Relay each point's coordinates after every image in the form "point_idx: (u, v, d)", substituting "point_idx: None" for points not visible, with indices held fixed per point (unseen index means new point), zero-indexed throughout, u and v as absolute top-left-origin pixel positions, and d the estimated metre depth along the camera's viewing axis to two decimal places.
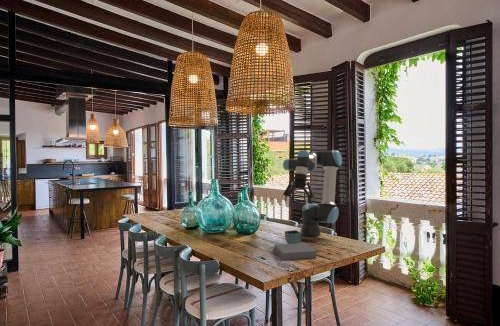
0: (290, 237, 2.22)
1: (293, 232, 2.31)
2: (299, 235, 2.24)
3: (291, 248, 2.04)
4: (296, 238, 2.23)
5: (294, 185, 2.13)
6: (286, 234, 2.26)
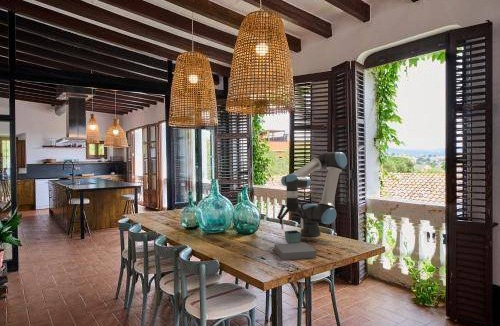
0: (290, 237, 2.22)
1: (293, 232, 2.31)
2: (299, 235, 2.24)
3: (291, 248, 2.04)
4: (296, 238, 2.23)
5: (289, 209, 2.24)
6: (286, 234, 2.26)
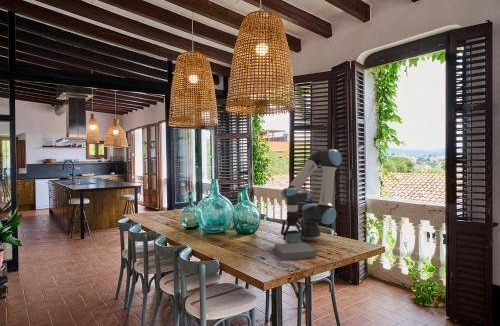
0: (290, 237, 2.22)
1: (293, 232, 2.31)
2: (299, 235, 2.23)
3: (291, 248, 2.04)
4: (296, 238, 2.23)
5: (290, 223, 2.25)
6: (286, 234, 2.26)
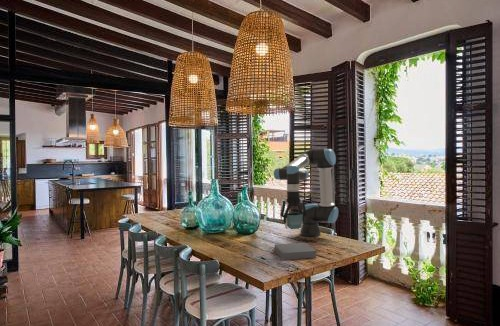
0: (290, 219, 2.02)
1: (294, 214, 2.11)
2: (300, 217, 2.04)
3: (291, 248, 2.04)
4: (297, 220, 2.03)
5: (290, 204, 2.05)
6: (286, 216, 2.06)
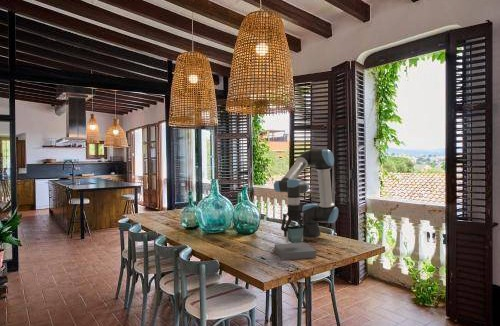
0: (291, 233, 2.01)
1: (294, 227, 2.10)
2: (301, 231, 2.03)
3: (291, 248, 2.04)
4: (298, 234, 2.03)
5: (291, 218, 2.04)
6: (287, 229, 2.06)
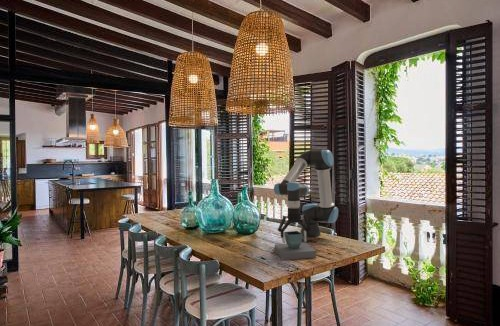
0: (290, 238, 2.02)
1: (294, 233, 2.11)
2: (300, 236, 2.03)
3: (291, 248, 2.04)
4: (297, 239, 2.03)
5: (290, 220, 2.04)
6: (286, 235, 2.06)
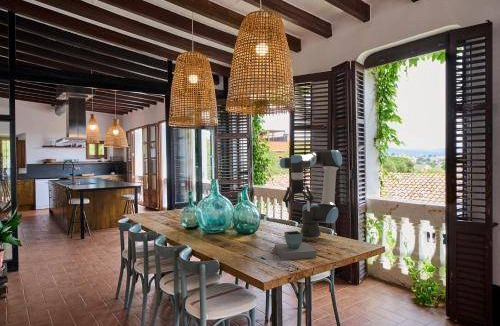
0: (290, 238, 2.02)
1: (294, 233, 2.11)
2: (300, 236, 2.03)
3: (291, 248, 2.04)
4: (297, 239, 2.03)
5: (294, 191, 2.16)
6: (286, 235, 2.06)
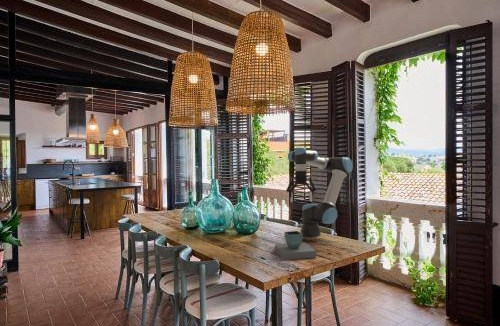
0: (290, 238, 2.02)
1: (294, 233, 2.11)
2: (300, 236, 2.03)
3: (291, 248, 2.04)
4: (297, 239, 2.03)
5: (298, 182, 2.27)
6: (286, 235, 2.06)
